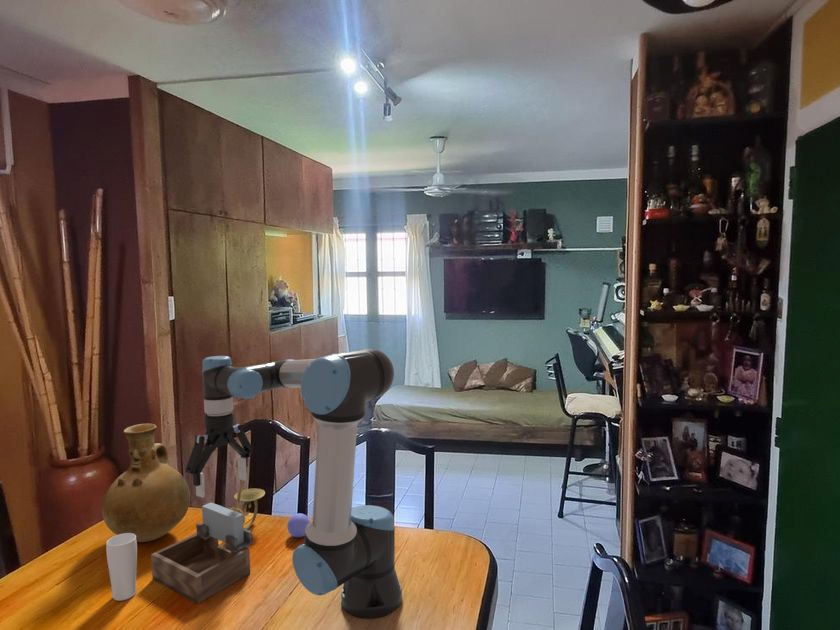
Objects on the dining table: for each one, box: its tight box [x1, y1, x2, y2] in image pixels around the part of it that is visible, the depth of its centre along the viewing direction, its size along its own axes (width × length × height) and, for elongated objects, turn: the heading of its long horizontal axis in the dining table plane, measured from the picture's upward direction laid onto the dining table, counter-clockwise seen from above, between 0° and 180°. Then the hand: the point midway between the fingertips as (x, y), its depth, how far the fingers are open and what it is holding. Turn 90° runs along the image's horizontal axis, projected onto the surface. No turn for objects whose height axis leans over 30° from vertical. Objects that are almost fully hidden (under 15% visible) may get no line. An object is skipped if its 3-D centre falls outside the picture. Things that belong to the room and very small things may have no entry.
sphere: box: [286, 512, 311, 538], centre depth 168 cm, size 7×7×7 cm
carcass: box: [150, 522, 253, 605], centre depth 147 cm, size 20×18×11 cm
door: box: [201, 502, 244, 545], centre depth 152 cm, size 14×4×8 cm, turn 57°
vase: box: [101, 423, 191, 543], centre depth 166 cm, size 24×24×35 cm
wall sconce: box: [229, 455, 266, 530], centre depth 171 cm, size 14×10×25 cm
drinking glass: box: [105, 533, 138, 602], centre depth 137 cm, size 7×7×15 cm
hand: (222, 487), depth 150 cm, fingers open, 13 cm apart
